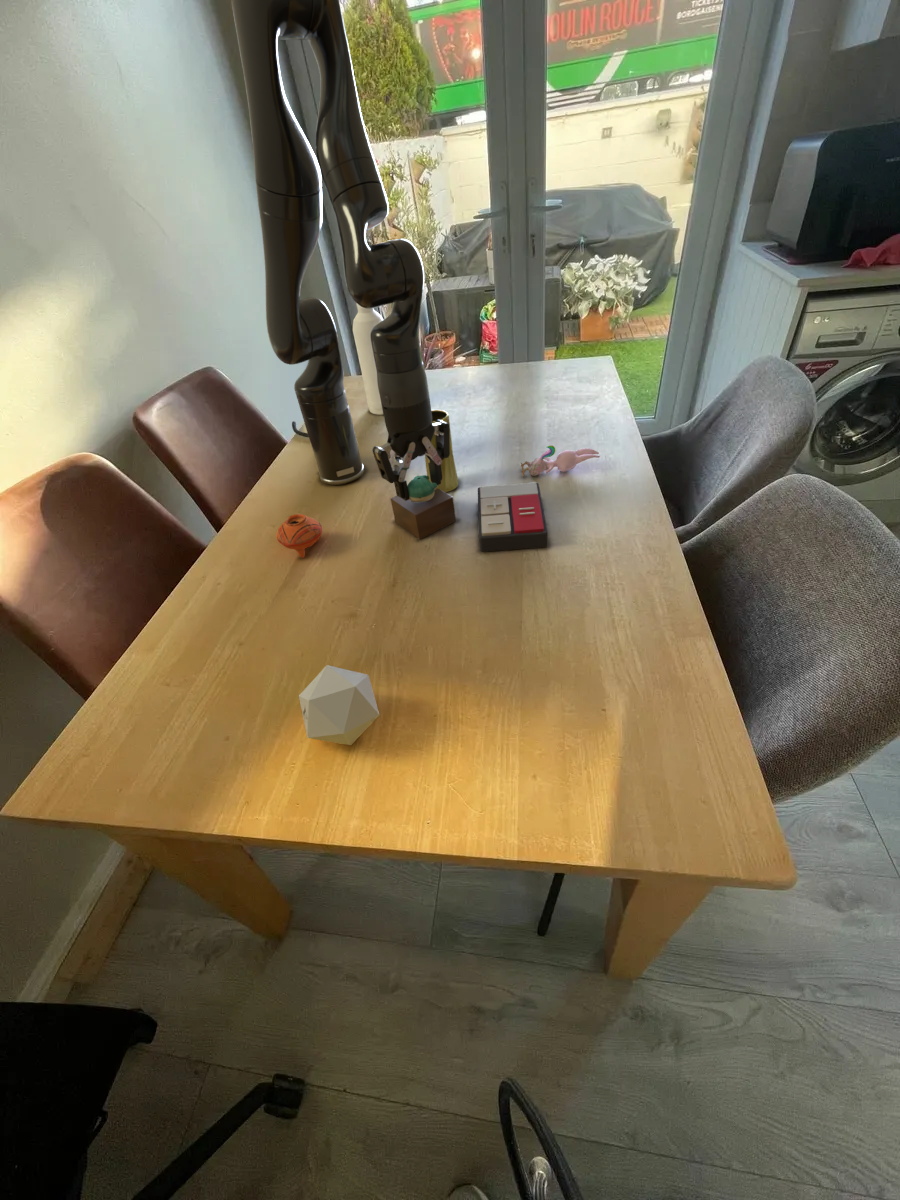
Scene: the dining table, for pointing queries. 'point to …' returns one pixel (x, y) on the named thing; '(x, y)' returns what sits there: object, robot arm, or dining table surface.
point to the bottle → (367, 355)
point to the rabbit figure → (558, 460)
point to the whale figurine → (421, 489)
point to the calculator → (511, 517)
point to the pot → (299, 533)
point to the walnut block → (424, 513)
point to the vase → (447, 464)
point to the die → (338, 705)
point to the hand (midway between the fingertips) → (420, 490)
